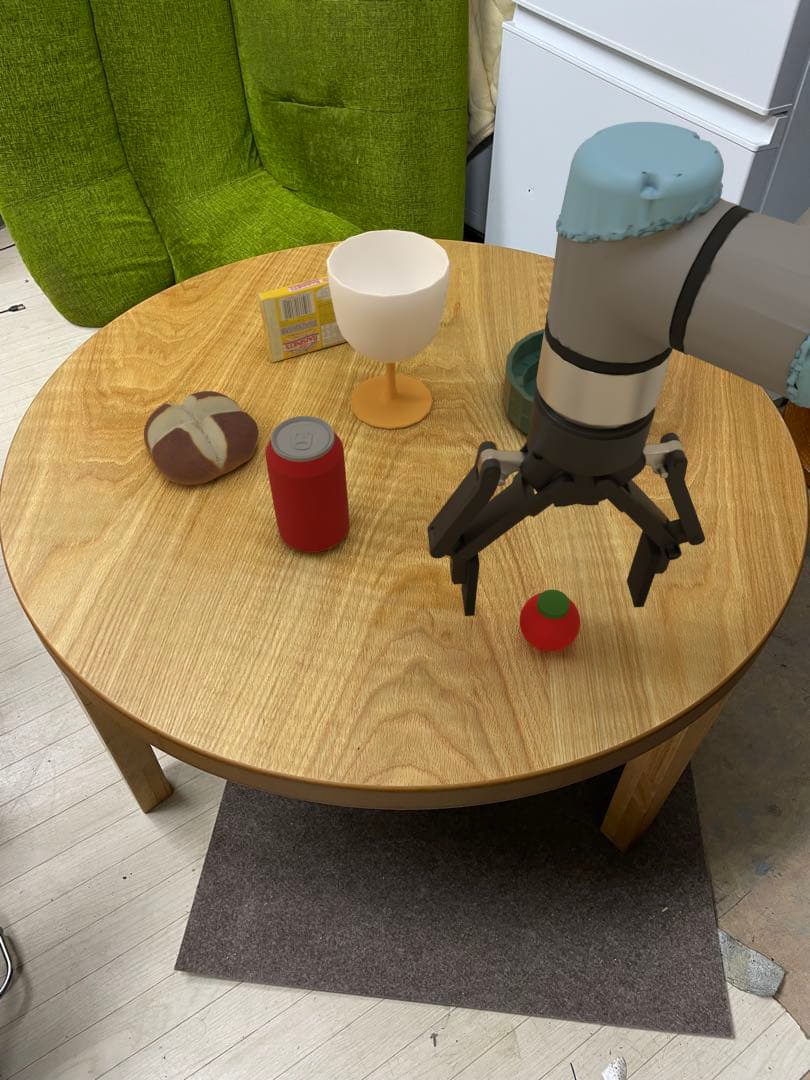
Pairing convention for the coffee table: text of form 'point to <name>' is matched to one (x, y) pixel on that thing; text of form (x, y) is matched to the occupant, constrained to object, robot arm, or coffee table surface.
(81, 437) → the coffee table surface
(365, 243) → the cup
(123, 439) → the coffee table surface
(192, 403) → the bread
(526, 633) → the tomato
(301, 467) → the beverage can
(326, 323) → the candy box
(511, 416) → the bowl
